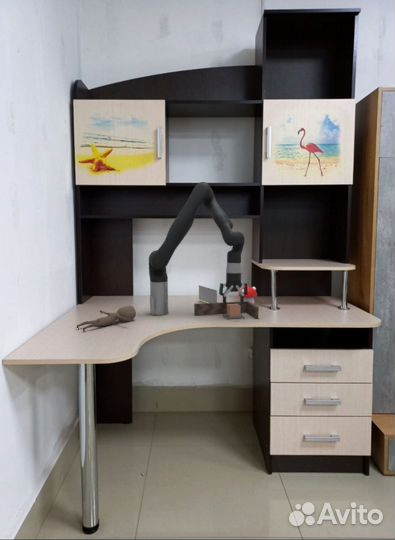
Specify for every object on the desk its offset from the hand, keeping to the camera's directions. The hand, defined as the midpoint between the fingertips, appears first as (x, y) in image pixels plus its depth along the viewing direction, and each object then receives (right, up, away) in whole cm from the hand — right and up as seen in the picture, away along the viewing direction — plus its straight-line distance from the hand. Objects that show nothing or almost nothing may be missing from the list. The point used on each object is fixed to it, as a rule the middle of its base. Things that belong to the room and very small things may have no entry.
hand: (233, 303), depth 213 cm
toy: (-60, -10, -12) cm, 62 cm away
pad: (0, -7, +2) cm, 7 cm away
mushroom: (+10, -4, +24) cm, 26 cm away
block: (0, -6, +1) cm, 7 cm away
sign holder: (-12, -4, +31) cm, 34 cm away
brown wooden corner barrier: (-4, -7, +2) cm, 8 cm away
